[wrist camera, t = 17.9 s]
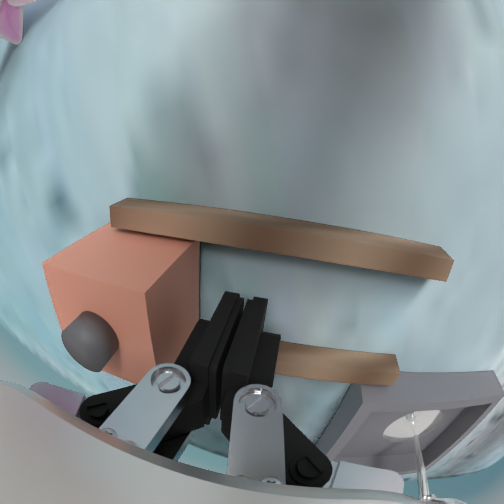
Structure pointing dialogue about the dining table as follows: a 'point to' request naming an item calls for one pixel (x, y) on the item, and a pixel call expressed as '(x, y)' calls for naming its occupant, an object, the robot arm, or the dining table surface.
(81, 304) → the piston block
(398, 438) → the wineglass
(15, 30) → the lily
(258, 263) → the dining table surface
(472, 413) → the tray
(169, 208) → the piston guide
